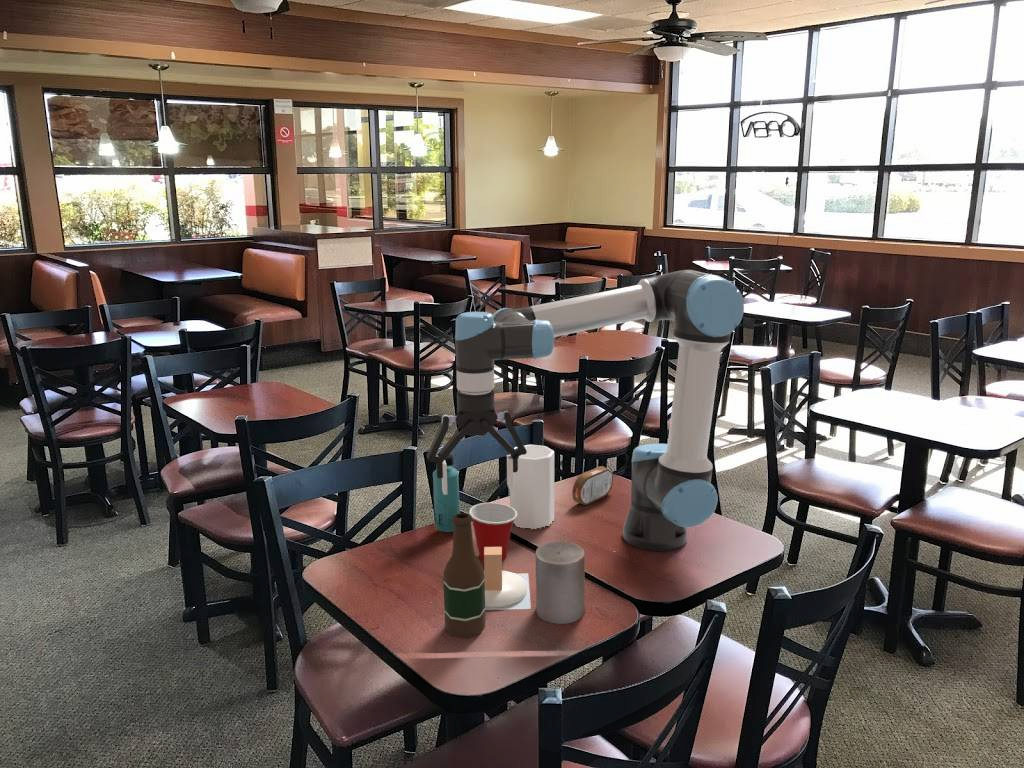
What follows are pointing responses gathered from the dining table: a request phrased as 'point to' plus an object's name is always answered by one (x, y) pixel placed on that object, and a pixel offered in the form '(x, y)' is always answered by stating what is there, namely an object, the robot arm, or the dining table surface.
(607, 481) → the tin
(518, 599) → the lid
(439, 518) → the beverage bottle
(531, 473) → the cup
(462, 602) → the beer bottle
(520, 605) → the mat
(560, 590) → the pillar candle
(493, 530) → the plastic cup
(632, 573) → the dining table surface
